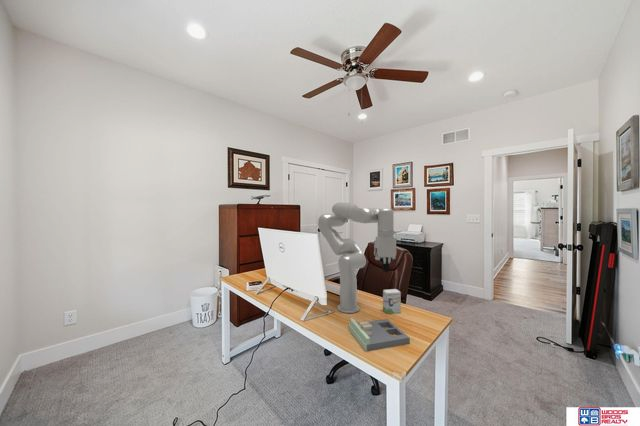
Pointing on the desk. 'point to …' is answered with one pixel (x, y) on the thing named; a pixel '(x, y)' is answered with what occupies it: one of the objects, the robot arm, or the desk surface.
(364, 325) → the cream block
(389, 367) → the desk surface
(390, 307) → the ink box
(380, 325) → the trap deck
